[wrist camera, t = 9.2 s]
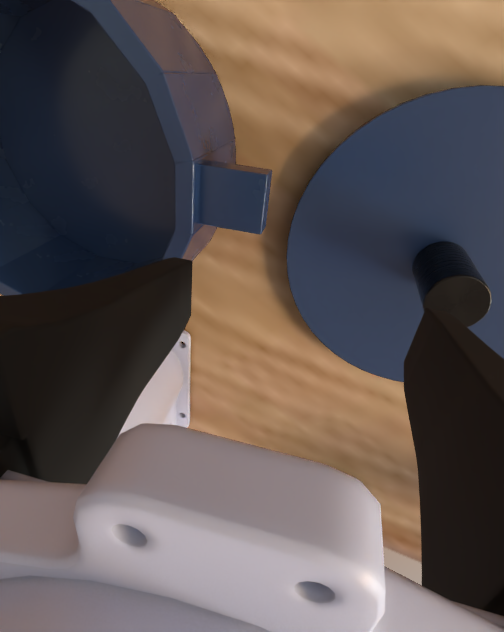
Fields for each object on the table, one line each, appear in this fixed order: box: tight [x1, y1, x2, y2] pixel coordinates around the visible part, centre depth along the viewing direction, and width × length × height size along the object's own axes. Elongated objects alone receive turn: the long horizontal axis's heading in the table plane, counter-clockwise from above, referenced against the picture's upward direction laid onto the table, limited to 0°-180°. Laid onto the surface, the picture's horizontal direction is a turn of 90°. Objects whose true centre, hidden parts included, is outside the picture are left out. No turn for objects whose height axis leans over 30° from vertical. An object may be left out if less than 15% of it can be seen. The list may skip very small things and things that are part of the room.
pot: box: [0, 0, 272, 296], centre depth 19 cm, size 15×20×6 cm
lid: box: [286, 85, 504, 382], centre depth 18 cm, size 16×16×5 cm
